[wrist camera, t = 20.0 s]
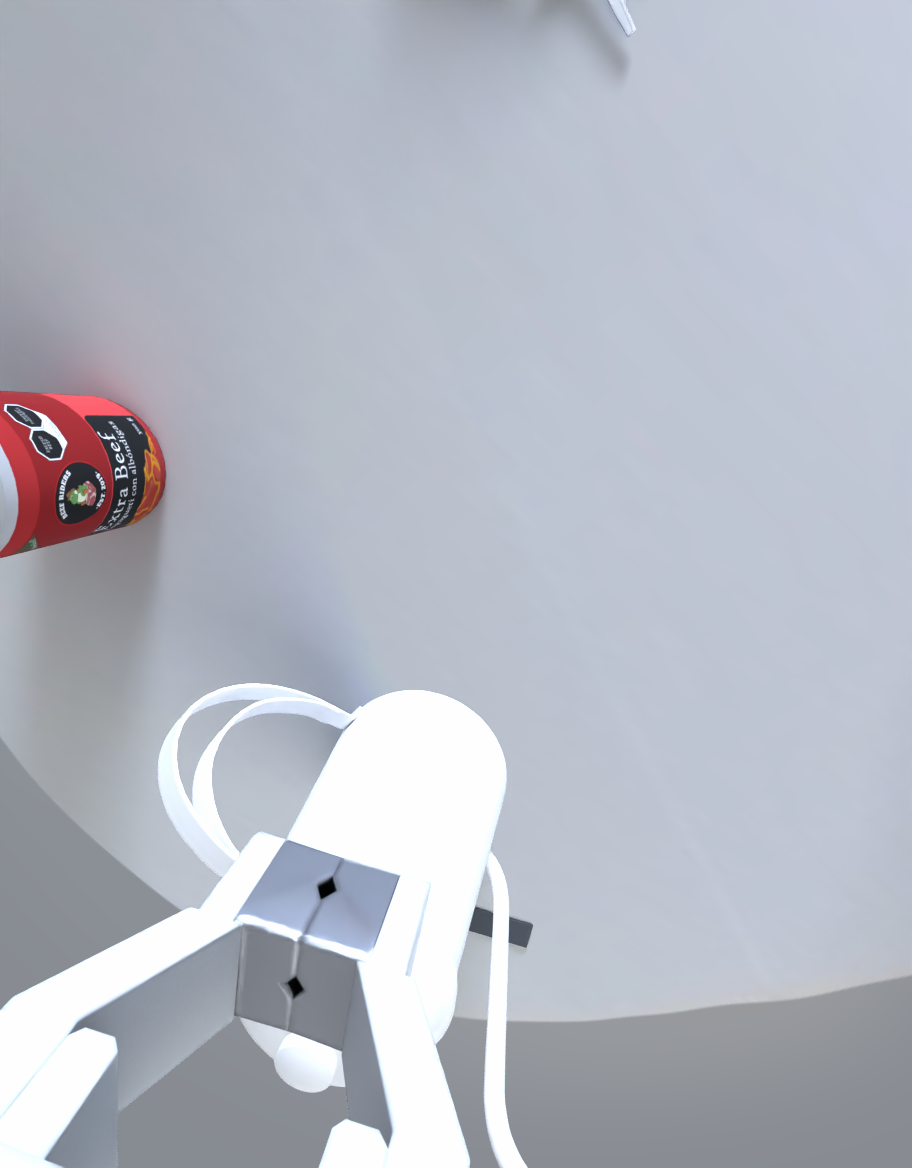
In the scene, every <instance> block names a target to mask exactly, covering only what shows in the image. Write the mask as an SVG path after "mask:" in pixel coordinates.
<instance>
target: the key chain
mask: <svg viewBox="0 0 912 1168" xmlns="http://www.w3.org/2000/svg"><path fill="white" fill-rule="evenodd" d="M608 2H609V4H610V6H611V8H612V10H613V12H614V14H615V16H616V18H617V19H618V21H619V23H620V24H621V26H622V28H623V30H624V31H625V33H626V35H627V37H629V36H630V35H631V34H632V33H634V32H635V31H636V28H635V26H634V23H633V21H632V18H631V16H630V14H629V11H628V9H627V6H626V4H625V2H626V0H608Z"/></svg>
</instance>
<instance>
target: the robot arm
mask: <svg viewBox="0 0 912 1168" xmlns="http://www.w3.org/2000/svg"><path fill="white" fill-rule="evenodd" d="M430 890H431V882H428V881H425V880H421V879H418V878H414V877H411V876H407V875H404V874H402V875H401V873H397V872H394V871H390V870H387V869H383V868H379V867H376V866H372V865H369V864H365V863H362V862H358V861H355V860H351V859H348V858H342V857H339V856H336V855H333V854H330V853H327V852H324V851H321V850H318V849H315V848H312V847H309V846H306V845H303V844H299V843H296V842H293V841H290V840H285V839H282V838H279V837H276V836H273V835H270V834H267V833H264V832H261V831H260V832H259V833H257V834H256V835H255V836H253V837H252V838H251V839H250V841H249V842H248V843H247V845H246V846H245V847H244V849H243V850H242V851H241V853H240V854H239V856H238V857H237V858H236V860H235V861H234V862H233V864H232V865H231V866H230V868H229V869H228V871H227V872H226V873H225V875H224V876H223V877H222V879H221V880H220V881H219V883H218V884H217V885H216V887H215V888H214V890H213V891H212V892H211V894H210V895H209V896H208V898H207V899H206V900H205V902H204V903H203V904H202V906H201V907H200V909H199V910H198V909H195V908H191V907H189V908H187V909H185V910H183V911H181V912H179V913H177V914H175V915H173V916H171V917H169V918H167V919H165V920H164V921H161V922H160V923H158V924H156V925H154V926H152V927H150V928H148V929H146V930H144V931H142V932H140V933H138V934H136V935H134V936H132V937H130V938H128V939H126V940H124V941H122V942H120V943H118V944H116V945H115V946H112V947H110V948H108V949H106V950H105V951H103V952H101V953H99V954H97V955H95V956H93V957H91V958H89V959H87V960H85V961H83V962H81V963H79V964H77V965H75V966H73V967H71V968H69V969H67V970H65V971H63V972H61V973H59V974H57V975H55V976H53V977H51V978H49V979H47V980H45V981H44V982H42V983H40V984H38V985H36V986H34V987H32V988H30V989H28V990H26V991H24V992H22V993H20V994H18V995H16V996H14V997H13V998H11V1000H10V1001H9V1002H8V1003H7V1004H6V1005H5V1006H4V1007H3V1008H2V1009H1V1010H0V1168H118V1113H119V1112H120V1111H121V1110H122V1109H124V1108H125V1107H126V1106H127V1105H129V1104H130V1103H131V1102H132V1101H134V1100H135V1099H136V1098H137V1097H138V1096H140V1095H141V1094H142V1093H143V1092H145V1091H146V1090H147V1089H148V1088H150V1087H151V1086H152V1085H153V1084H155V1083H156V1082H157V1081H158V1080H160V1079H161V1078H162V1077H163V1076H165V1075H166V1074H167V1073H168V1072H169V1071H171V1070H172V1069H173V1068H174V1067H176V1066H177V1065H178V1064H179V1063H181V1062H182V1061H183V1060H184V1059H186V1058H187V1057H188V1056H189V1055H190V1054H192V1053H193V1052H194V1051H195V1050H197V1049H198V1048H199V1047H200V1046H202V1045H203V1044H204V1043H205V1042H206V1041H208V1040H209V1039H210V1038H211V1037H213V1036H214V1035H215V1034H216V1033H218V1032H219V1031H220V1030H221V1029H223V1028H224V1027H225V1026H226V1025H228V1024H229V1023H230V1022H231V1021H233V1019H234V1015H235V1016H238V1017H241V1018H245V1019H248V1020H251V1021H255V1022H258V1023H261V1024H265V1025H268V1026H271V1027H275V1028H278V1029H281V1030H285V1031H288V1032H291V1033H293V1034H296V1035H299V1036H301V1037H304V1038H307V1039H309V1040H312V1041H315V1042H317V1043H320V1044H323V1045H325V1046H328V1047H331V1048H333V1049H336V1050H339V1051H341V1052H342V1055H341V1056H342V1064H343V1072H344V1080H345V1088H346V1095H347V1102H348V1110H349V1119H350V1120H347V1119H345V1120H344V1121H342V1122H341V1123H339V1124H338V1125H336V1126H335V1127H333V1128H332V1130H331V1133H330V1137H329V1139H328V1142H327V1145H326V1148H325V1151H324V1154H323V1157H322V1160H321V1163H320V1166H319V1168H469V1165H470V1157H469V1154H468V1151H467V1147H466V1144H465V1141H464V1138H463V1134H462V1131H461V1128H460V1124H459V1121H458V1118H457V1114H456V1111H455V1108H454V1105H453V1101H452V1099H451V1095H450V1091H449V1088H448V1085H447V1082H446V1078H445V1075H444V1072H443V1069H442V1065H441V1062H440V1059H439V1055H438V1052H437V1049H436V1046H435V1042H434V1039H433V1036H432V1032H431V1029H430V1026H429V1023H428V1019H427V1016H426V1013H425V1009H424V1006H423V1003H422V1000H421V996H420V993H419V990H418V986H417V983H416V980H415V979H414V978H412V977H411V973H412V969H413V965H414V960H415V956H416V952H417V948H418V943H419V939H420V935H421V930H422V926H423V921H424V917H425V912H426V908H427V903H428V899H429V894H430Z"/></svg>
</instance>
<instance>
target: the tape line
mask: <svg viewBox="0 0 912 1168" xmlns="http://www.w3.org/2000/svg"><path fill="white" fill-rule="evenodd" d="M532 927H533V925H532V924H529V923H525V922H522V921H518V920H515V919H512V918H509V936H508V942H509V943H512V944H516V945H519V946H522V947H527V943H528V940H529V937H530V933H531V930H532ZM469 931H472V932H476V933H479V934H482V935H486V936H489V937H492V932H493V913H491V912H488V911H485V910H481V909H478V908H474V912H473V916H472V919H471V923H470V927H469Z"/></svg>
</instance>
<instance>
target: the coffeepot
mask: <svg viewBox="0 0 912 1168" xmlns="http://www.w3.org/2000/svg"><path fill="white" fill-rule="evenodd" d="M234 700H260V702H257V703H254V704H252V705H250V706H249V707H247V708H245V709H244V710H242V711H241V712H239V713H238V714H237V715H236V716H235V717H234V718H232V719H231V720H230V721H229V723H228V724H227V725H226V726H225V727H224V728H223V729H222V730H221V731H220V732H219V733H218V734H217V735H216V737H215V738H214V739H213V740H212V741H211V743H210V744H209V745H208V747H207V748H206V750H205V752H204V753H203V755H202V757H201V759H200V761H199V764H198V766H197V769H196V772H195V777H194V782H193V807H194V809H193V807H192V805H191V803H190V802H189V800H188V798H187V796H186V794H185V792H184V789H183V786H182V783H181V780H180V777H179V772H178V766H177V759H176V756H177V742H178V738H179V735H180V732H181V729H182V726H183V724H184V722H185V721H186V719H187V718H188V717H190V716H191V715H192V714H193V713H195V712H198V711H200V710H202V709H204V708H206V707H208V706H210V705H214V704H218V703H222V702H225V701H234ZM266 713H290V714H299V715H305V716H309V717H312V718H314V719H317V720H319V721H321V722H323V723H325V724H328V723H329V724H331V725H333V726H335V727H337V728H339V729H344V730H343V732H342V734H341V736H340V738H339V740H338V742H337V743H336V745H335V747H334V749H333V751H332V753H331V755H330V757H329V759H328V761H327V762H326V764H325V766H324V768H323V770H322V772H321V774H320V776H319V778H318V780H317V781H316V783H315V785H314V787H313V789H312V791H311V793H310V795H309V797H308V799H307V801H306V802H305V804H304V806H303V808H302V810H301V812H300V814H299V816H298V818H297V820H296V821H295V823H294V825H293V827H292V829H291V831H290V833H289V835H288V837H287V839H286V840H290V841H293V842H296V843H299V844H303V845H306V846H309V847H312V848H315V849H318V850H321V851H324V852H327V853H330V854H333V855H336V856H339V857H342V858H348V859H351V860H355V861H358V862H362V863H365V864H369V865H372V866H376V867H379V868H383V869H387V870H390V871H394V872H397V873H401V875H402V874H404V875H407V876H411V877H414V878H418V879H421V880H425V881H428V882H431V890H430V894H429V899H428V903H427V908H426V912H425V917H424V921H423V926H422V930H421V935H420V939H419V943H418V948H417V952H416V956H415V960H414V965H413V969H412V973H411V977H412V978H414V979H415V980H416V983H417V986H418V990H419V993H420V996H421V1000H422V1003H423V1006H424V1009H425V1013H426V1016H427V1019H428V1023H429V1026H430V1029H431V1032H432V1036H433V1039H434V1042H435V1044H436V1043H437V1042H438V1041H439V1040H440V1039H441V1037H442V1036H443V1035H444V1033H445V1032H446V1030H447V1028H448V1026H449V1024H450V1022H451V1020H452V1017H453V1013H454V1009H455V1002H456V997H457V972H458V968H459V964H460V961H461V957H462V953H463V949H464V946H465V942H466V938H467V934H468V931H469V927H470V923H471V919H472V916H473V912H474V908H475V904H476V901H477V897H478V893H479V890H480V886H481V882H482V878H483V875H484V871H485V869H486V871H487V873H488V875H489V878H490V881H491V885H492V890H493V900H494V909H493V932H492V950H491V967H490V985H489V1002H488V1019H487V1038H486V1055H485V1078H484V1107H485V1117H486V1124H487V1130H488V1135H489V1139H490V1142H491V1146H492V1149H493V1152H494V1155H495V1157H496V1160H497V1162H498V1164H499V1166H500V1168H527V1166H526V1165H525V1163H524V1162H523V1160H522V1158H521V1156H520V1154H519V1152H518V1150H517V1148H516V1146H515V1144H514V1141H513V1138H512V1136H511V1132H510V1129H509V1125H508V1120H507V1114H506V1106H505V1095H504V1094H505V1042H506V1007H507V972H508V936H509V898H508V890H507V885H506V881H505V877H504V874H503V872H502V869H501V867H500V865H499V863H498V861H497V859H496V857H495V856H494V854H493V853H492V851H491V850H490V848H491V845H492V841H493V837H494V833H495V830H496V826H497V822H498V818H499V815H500V811H501V807H502V803H503V800H504V796H505V791H506V783H507V773H506V764H505V759H504V755H503V752H502V750H501V747H500V745H499V743H498V741H497V739H496V737H495V736H494V734H493V732H492V731H491V730H490V728H489V727H488V726H487V724H486V723H485V722H484V721H483V720H482V719H481V718H480V717H479V716H478V715H477V714H476V713H474V712H473V711H472V710H471V709H469V708H468V707H466V706H465V705H463V704H461V703H460V702H458V701H456V700H454V699H452V698H449V697H447V696H444V695H441V694H437V693H433V692H428V691H419V690H407V691H399V692H394V693H390V694H387V695H384V696H381V697H379V698H377V699H375V700H373V701H371V702H369V703H368V704H366V705H365V706H364V707H361V706H360V707H359V708H358V709H357V710H355V711H354V712H353V713H352V714H351V715H350V714H348V713H346V712H344V711H343V710H341V709H339V708H337V707H335V706H333V705H331V704H329V703H327V702H325V701H323V700H321V699H319V698H317V697H314V696H312V695H309V694H306V693H304V692H300V691H297V690H294V689H290V688H285V687H281V686H276V685H269V684H241V685H234V686H230V687H226V688H222V689H219V690H217V691H214V692H212V693H210V694H208V695H206V696H204V697H202V698H201V699H200V700H199V701H197V702H196V703H195V704H193V705H192V706H191V707H190V708H189V709H188V710H187V711H186V712H185V713H184V714H183V715H182V717H181V718H180V719H179V720H178V721H177V722H176V724H175V725H174V726H173V728H172V729H171V731H170V732H169V733H168V735H167V736H166V738H165V741H164V743H163V746H162V749H161V751H160V754H159V763H158V773H157V774H158V782H159V790H160V795H161V798H162V801H163V804H164V807H165V810H166V812H167V814H168V816H169V818H170V820H171V821H172V823H173V825H174V827H175V828H176V830H177V831H178V833H179V834H180V835H181V837H182V838H183V840H184V841H185V842H186V844H187V845H188V846H189V847H190V848H191V849H192V851H193V852H194V853H195V854H196V855H197V856H198V857H199V858H200V859H201V860H202V861H203V862H204V863H205V864H206V865H207V866H208V867H209V868H210V869H211V870H212V871H213V872H215V873H216V874H217V875H218V876H220V877H221V878H222V877H223V876H224V875H225V873H226V872H227V871H228V869H229V868H230V866H231V865H232V864H233V862H234V861H235V860H236V858H237V857H238V856H239V854H240V853H239V852H238V851H237V850H236V848H235V847H234V846H233V844H232V842H231V841H230V839H229V838H228V836H227V834H226V832H225V830H224V828H223V826H222V823H221V821H220V819H219V816H218V814H217V810H216V806H215V803H214V798H213V791H212V777H211V771H212V765H213V759H214V755H215V753H216V750H217V747H218V745H219V743H220V741H221V739H222V738H223V736H224V734H225V733H226V731H227V730H228V729H229V728H230V727H232V726H233V725H235V724H237V723H238V722H240V721H242V720H244V719H246V718H249V717H251V716H255V715H260V714H266ZM240 1019H241V1021H242V1023H243V1025H244V1026H245V1028H246V1030H247V1031H248V1033H249V1034H250V1035H251V1037H252V1038H253V1039H254V1041H255V1042H256V1043H257V1044H258V1045H259V1046H260V1047H261V1048H262V1049H263V1050H264V1051H265V1052H266V1053H267V1054H268V1055H269V1056H270V1057H271V1058H273V1059H274V1064H275V1068H276V1071H277V1073H278V1074H279V1076H280V1077H281V1078H282V1079H283V1080H284V1081H285V1082H286V1083H287V1084H289V1085H290V1086H292V1087H294V1088H296V1089H298V1090H301V1091H305V1092H319V1091H323V1090H324V1089H326V1088H327V1087H329V1085H333V1086H340V1087H345V1080H344V1072H343V1064H342V1056H341V1055H342V1052H341V1051H339V1050H336V1049H333V1048H331V1047H328V1046H325V1045H323V1044H320V1043H317V1042H315V1041H312V1040H309V1039H307V1038H304V1037H301V1036H299V1035H296V1034H293V1033H291V1032H288V1031H285V1030H281V1029H278V1028H275V1027H271V1026H268V1025H265V1024H261V1023H258V1022H255V1021H251V1020H248V1019H245V1018H241V1017H240Z"/></svg>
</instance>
